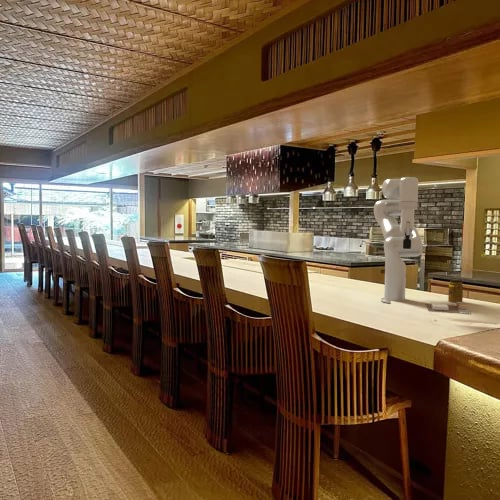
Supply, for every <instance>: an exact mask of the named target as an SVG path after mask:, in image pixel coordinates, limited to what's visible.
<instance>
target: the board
mask: <svg viewBox="0 0 500 500" xmlns="http://www.w3.org/2000/svg"><path fill="white" fill-rule="evenodd" d="M424 304H425V306H426V309H427V311H428V312H429V313H445V314H458V315H459V314H461V313H460V312H459V311H458V310H459V309H458V308H457V307H456V305H452V304H451V305H449V304H447V306H448V311H442V310H433V309H432V307H431V303H424ZM466 310H468V309H467V308H466Z"/></svg>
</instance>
